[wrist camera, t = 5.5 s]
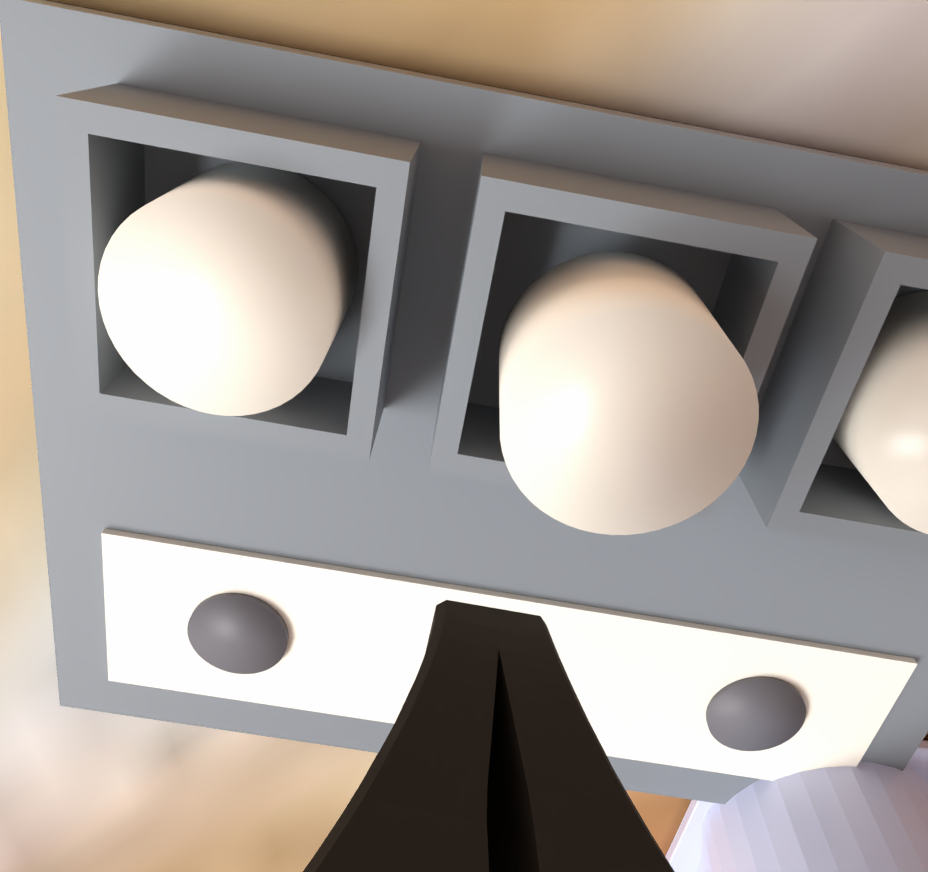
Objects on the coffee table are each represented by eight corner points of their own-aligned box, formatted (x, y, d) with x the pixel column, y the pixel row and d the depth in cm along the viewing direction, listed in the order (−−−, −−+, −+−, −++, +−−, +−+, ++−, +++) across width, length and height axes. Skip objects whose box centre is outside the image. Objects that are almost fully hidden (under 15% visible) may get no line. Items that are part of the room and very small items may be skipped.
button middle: (676, 463, 16) (711, 551, 14) (481, 430, 16) (478, 514, 13) (742, 273, 14) (797, 333, 12) (522, 232, 14) (528, 284, 12)
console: (854, 797, 25) (903, 904, 22) (76, 679, 24) (15, 776, 21) (1202, 224, 17) (1359, 271, 14) (25, -4, 15) (-88, -7, 12)
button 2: (346, 368, 18) (320, 432, 15) (162, 336, 17) (102, 395, 15) (368, 181, 16) (342, 217, 13) (161, 143, 15) (93, 171, 13)
